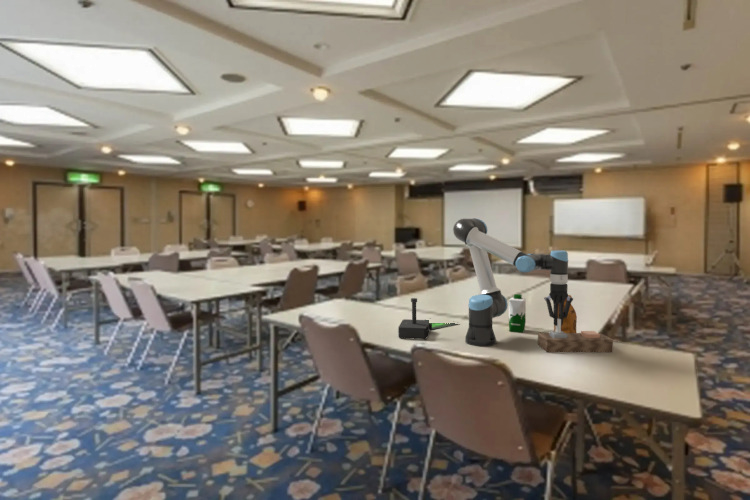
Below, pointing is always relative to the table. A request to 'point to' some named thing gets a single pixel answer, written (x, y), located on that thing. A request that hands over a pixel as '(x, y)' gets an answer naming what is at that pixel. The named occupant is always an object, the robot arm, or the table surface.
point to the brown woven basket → (575, 343)
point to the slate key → (557, 334)
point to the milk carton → (517, 313)
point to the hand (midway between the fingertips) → (558, 332)
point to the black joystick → (414, 326)
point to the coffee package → (568, 320)
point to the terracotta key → (590, 334)
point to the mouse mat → (441, 325)
